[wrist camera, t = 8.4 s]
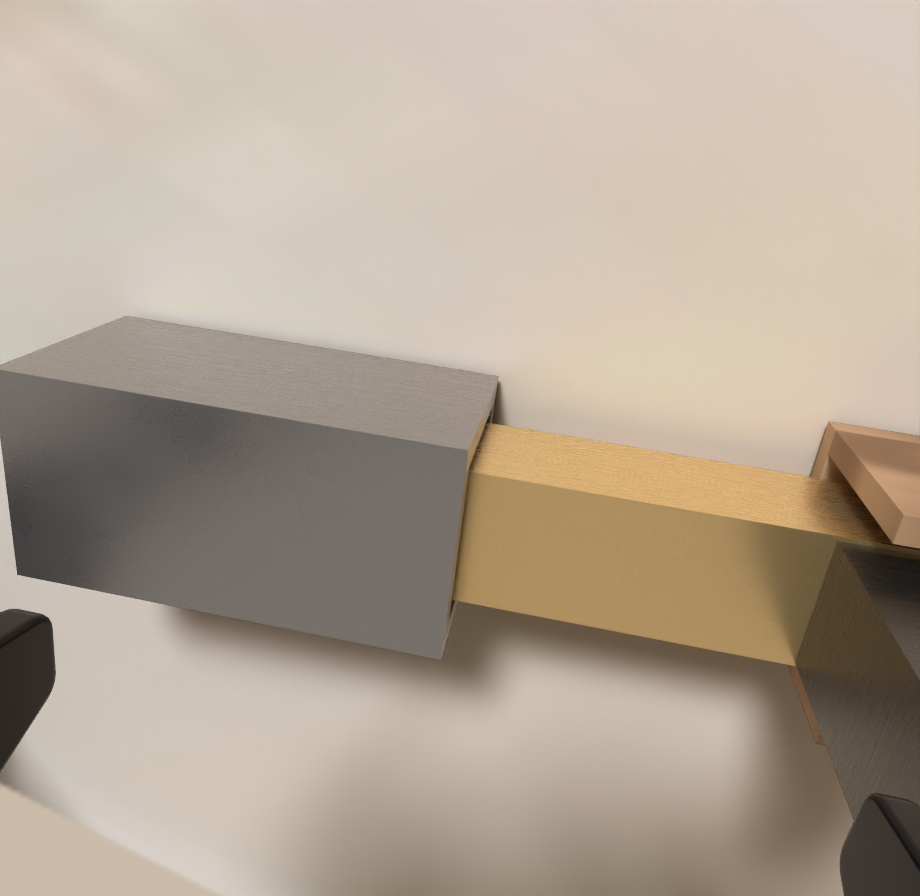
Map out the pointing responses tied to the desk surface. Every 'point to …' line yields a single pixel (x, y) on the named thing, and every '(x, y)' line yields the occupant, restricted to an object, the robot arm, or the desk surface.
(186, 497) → the sleeve
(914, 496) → the socket
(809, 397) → the desk surface
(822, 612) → the slider
